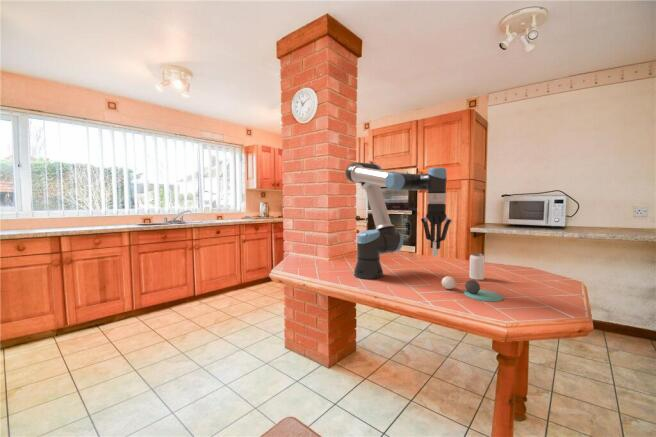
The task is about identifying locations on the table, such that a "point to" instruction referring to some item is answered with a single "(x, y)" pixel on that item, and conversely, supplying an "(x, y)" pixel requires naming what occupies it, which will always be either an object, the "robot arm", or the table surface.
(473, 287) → the object ball
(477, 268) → the can
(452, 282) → the cue ball
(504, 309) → the table surface
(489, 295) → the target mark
